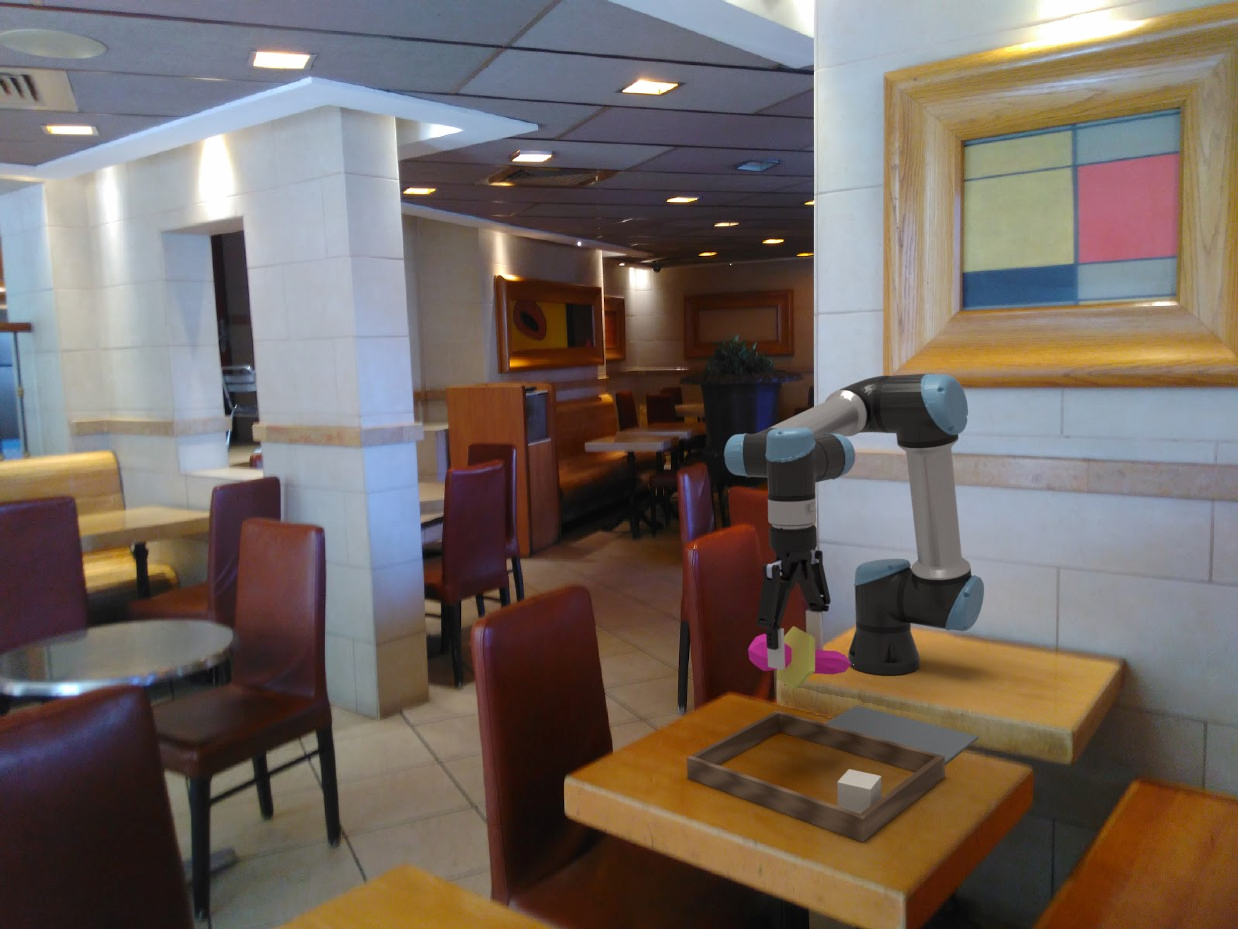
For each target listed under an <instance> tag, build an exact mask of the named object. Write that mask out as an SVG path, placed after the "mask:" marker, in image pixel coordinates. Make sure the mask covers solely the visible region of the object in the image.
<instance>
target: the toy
mask: <svg viewBox="0 0 1238 929" xmlns="http://www.w3.org/2000/svg"><path fill="white" fill-rule="evenodd" d="M766 640H767V639H766V633H763V634H759V635H757V636H755V638H754V639H753V641H751V644H750V645H748V646H749V647H748V649H747V651H748V658H749V661H750V662H751V663H752V664H753V665H754V666H756V667H757V668H758V669H760V670H761V671H763V672H767V671H776V679H777V680H778V681H780V682H781V683H782V684H784V685H785V686H787V687H789V689H792V690H794V689H798V688H800V687H801V686H803V685H804V683H805V682H807V680H808V679H809V678H811V676H812V675H813V674H814V675H816V674H817V675H837V674H842V673H843V674H844V673H846V671H847V670H848V669H849V668H850V667H851V666H850V665H851V663H850V661H849V660H848V657H847V656H846V655H845V654H844V653H841V652H840V651H837V650H824V649H823V650H815V638H814V637H812V636H811V635H809V634H807V633H806V631H804V630H801V629H799V628H798V627H796V626H794V625H793V626H791V628H790V629H789V630H788V631H787V633H786V634H784V649H785V669H784V670H780V669H776V668H771V667H768V648H767V642H766Z"/></svg>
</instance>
